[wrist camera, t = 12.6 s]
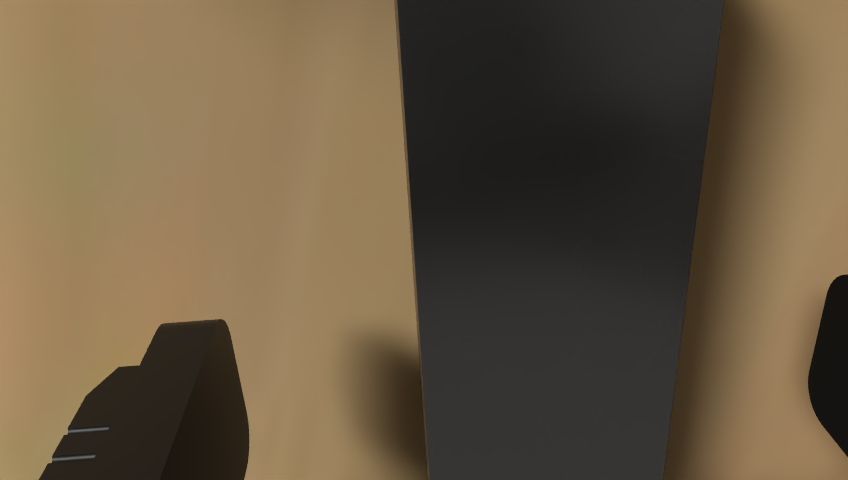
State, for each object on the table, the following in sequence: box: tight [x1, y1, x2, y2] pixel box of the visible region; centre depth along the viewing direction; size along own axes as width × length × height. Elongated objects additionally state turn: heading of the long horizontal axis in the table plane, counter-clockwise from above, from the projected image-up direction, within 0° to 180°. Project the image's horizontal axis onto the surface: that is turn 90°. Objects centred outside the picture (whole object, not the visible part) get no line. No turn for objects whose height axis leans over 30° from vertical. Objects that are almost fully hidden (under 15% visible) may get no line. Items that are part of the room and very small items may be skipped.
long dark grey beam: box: [394, 0, 724, 480], centre depth 10 cm, size 6×13×4 cm, turn 3°
